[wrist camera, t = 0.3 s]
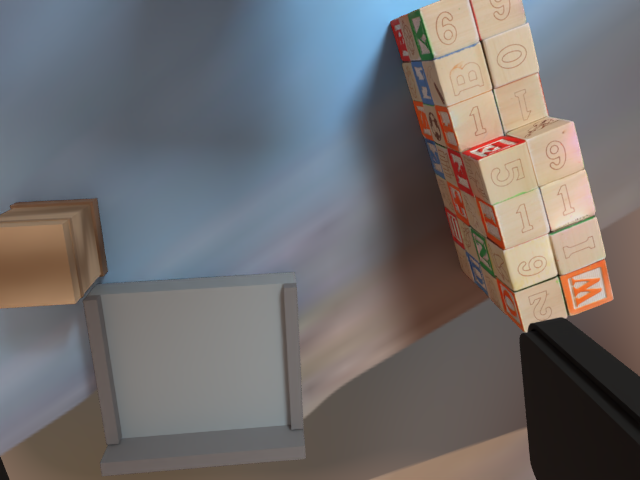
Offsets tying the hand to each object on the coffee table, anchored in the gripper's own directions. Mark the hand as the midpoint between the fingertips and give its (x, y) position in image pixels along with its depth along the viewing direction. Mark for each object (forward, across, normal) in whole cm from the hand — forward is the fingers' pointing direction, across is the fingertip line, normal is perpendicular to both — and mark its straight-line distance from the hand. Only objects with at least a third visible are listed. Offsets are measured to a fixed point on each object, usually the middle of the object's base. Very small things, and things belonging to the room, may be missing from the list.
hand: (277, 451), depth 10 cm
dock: (+36, +9, +15) cm, 39 cm away
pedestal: (+36, +17, +2) cm, 39 cm away
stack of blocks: (+36, -16, +1) cm, 39 cm away
